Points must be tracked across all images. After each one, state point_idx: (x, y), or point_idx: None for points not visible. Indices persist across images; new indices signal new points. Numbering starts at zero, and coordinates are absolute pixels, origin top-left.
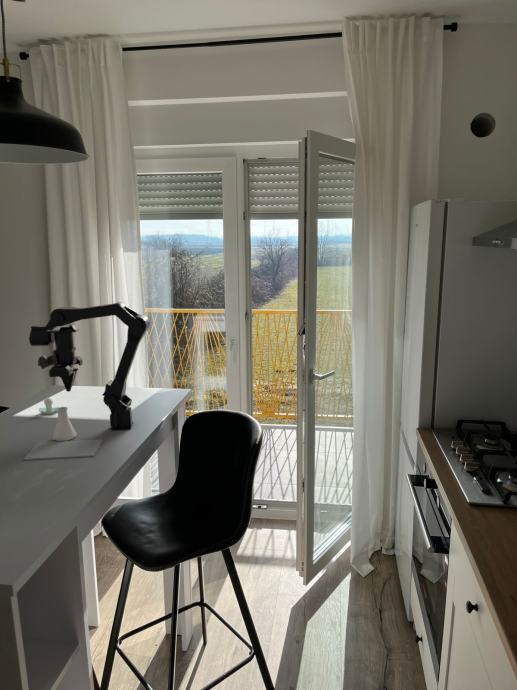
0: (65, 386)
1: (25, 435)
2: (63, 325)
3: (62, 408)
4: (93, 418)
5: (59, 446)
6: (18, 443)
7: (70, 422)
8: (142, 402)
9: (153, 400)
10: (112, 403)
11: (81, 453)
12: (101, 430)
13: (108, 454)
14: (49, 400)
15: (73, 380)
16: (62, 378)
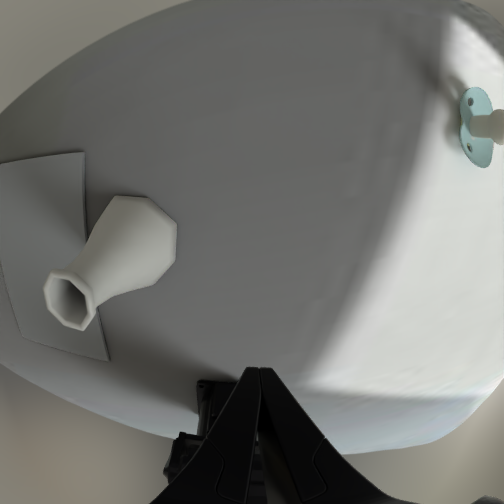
0: (226, 408)
1: (198, 59)
2: None
3: (88, 296)
4: (361, 309)
5: (49, 245)
6: (107, 72)
7: (122, 292)
8: (436, 396)
9: (434, 411)
10: (165, 465)
11: (22, 312)
12: (203, 354)
13: (40, 362)
14: (501, 132)
15: (266, 493)
16: (169, 499)
